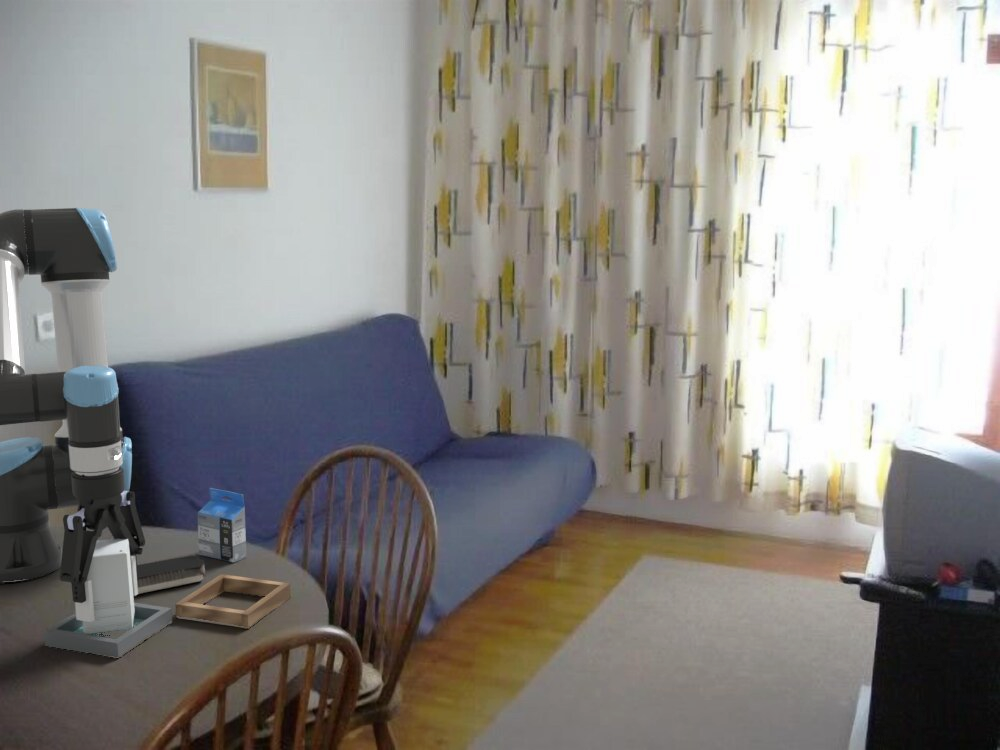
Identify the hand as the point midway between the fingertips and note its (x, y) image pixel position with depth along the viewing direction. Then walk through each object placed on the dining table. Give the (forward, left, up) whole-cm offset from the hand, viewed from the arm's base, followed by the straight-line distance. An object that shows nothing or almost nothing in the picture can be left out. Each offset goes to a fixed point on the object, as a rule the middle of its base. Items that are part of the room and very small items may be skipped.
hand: (108, 606), depth 168 cm
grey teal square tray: (0, 0, -5) cm, 5 cm away
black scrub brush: (-5, +19, -5) cm, 21 cm away
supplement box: (0, 0, -3) cm, 3 cm away
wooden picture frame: (+13, +15, -5) cm, 20 cm away
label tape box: (-2, +35, -5) cm, 35 cm away
